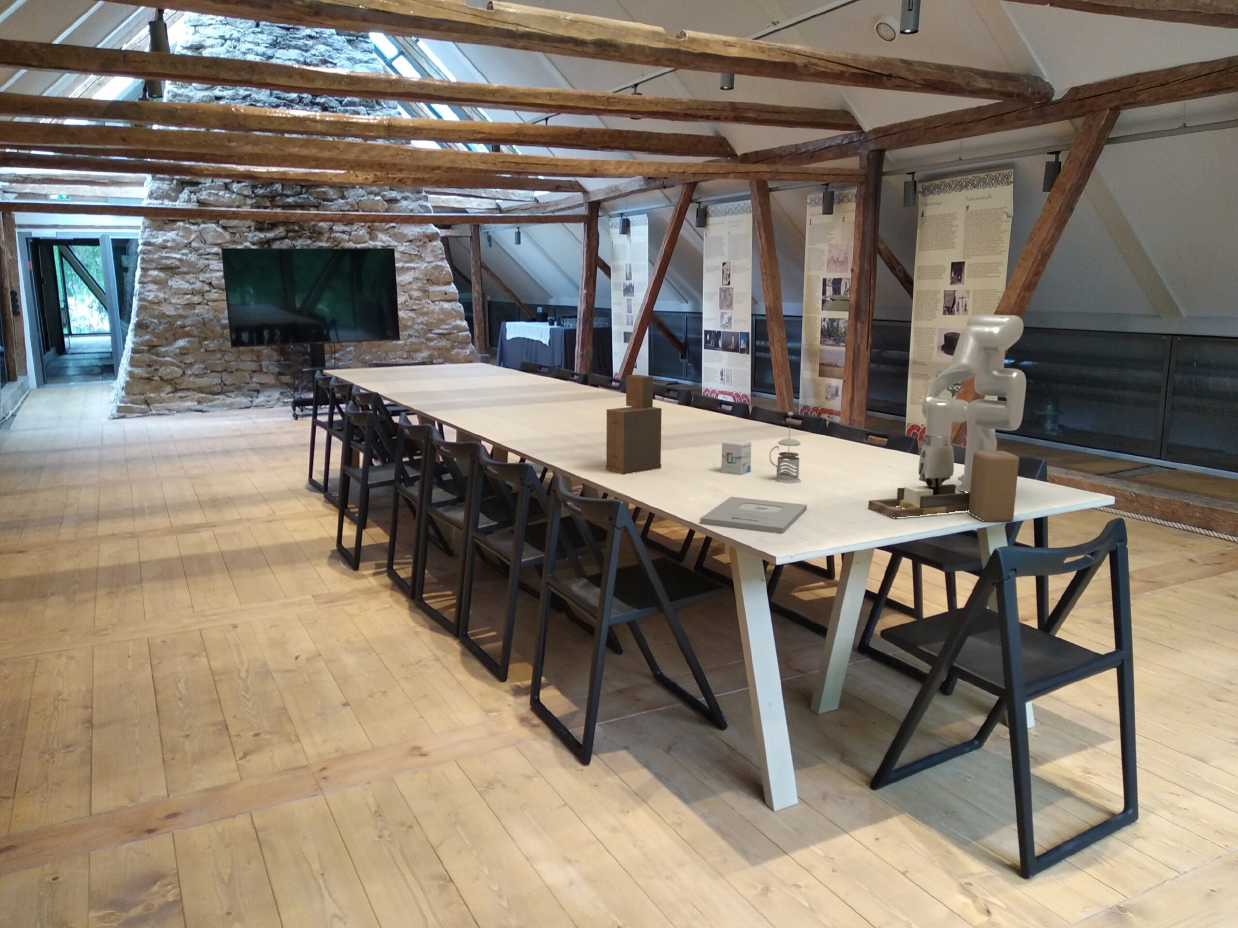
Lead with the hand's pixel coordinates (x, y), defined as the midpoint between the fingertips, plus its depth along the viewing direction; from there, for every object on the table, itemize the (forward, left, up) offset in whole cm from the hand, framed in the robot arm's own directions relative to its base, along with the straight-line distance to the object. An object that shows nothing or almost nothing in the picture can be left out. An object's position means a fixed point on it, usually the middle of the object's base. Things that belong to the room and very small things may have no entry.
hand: (933, 498), depth 270 cm
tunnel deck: (0, -1, -4) cm, 4 cm away
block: (+14, +10, -4) cm, 18 cm away
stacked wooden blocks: (-87, -70, -4) cm, 111 cm away
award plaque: (-8, -58, -4) cm, 58 cm away
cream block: (0, -5, -1) cm, 6 cm away
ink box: (-70, -35, -4) cm, 78 cm away
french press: (-52, -24, -4) cm, 57 cm away
